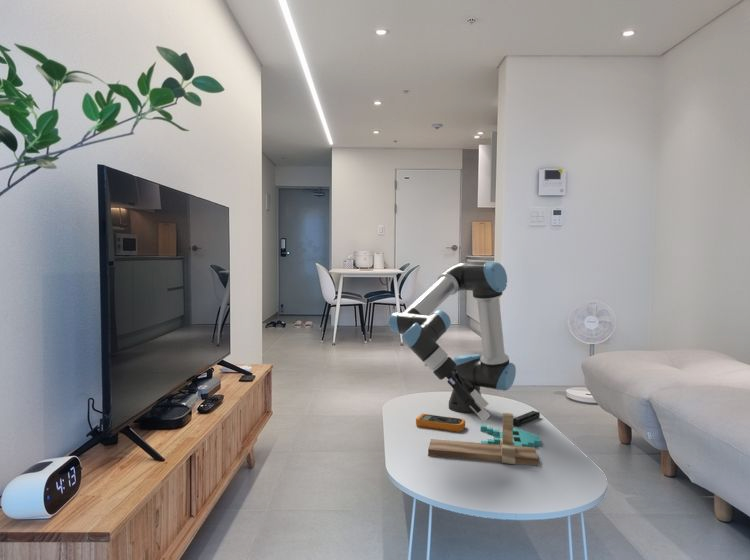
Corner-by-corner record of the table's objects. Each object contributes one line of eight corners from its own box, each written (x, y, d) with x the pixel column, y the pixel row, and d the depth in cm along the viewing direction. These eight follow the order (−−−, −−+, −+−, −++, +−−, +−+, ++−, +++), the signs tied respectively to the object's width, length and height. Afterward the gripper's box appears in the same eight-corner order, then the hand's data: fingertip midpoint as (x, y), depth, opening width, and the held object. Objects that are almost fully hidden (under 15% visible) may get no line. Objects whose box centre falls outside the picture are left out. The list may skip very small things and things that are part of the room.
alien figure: (481, 449, 168) (543, 454, 164) (481, 442, 167) (543, 448, 164) (480, 430, 187) (535, 435, 183) (480, 424, 187) (536, 429, 183)
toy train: (534, 417, 205) (534, 409, 205) (540, 418, 203) (540, 411, 203) (511, 426, 192) (511, 418, 192) (517, 428, 191) (518, 420, 190)
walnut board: (430, 444, 170) (430, 438, 170) (534, 453, 163) (534, 447, 163) (428, 455, 160) (428, 449, 160) (538, 465, 153) (538, 458, 153)
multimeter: (461, 433, 183) (461, 424, 183) (414, 427, 190) (415, 418, 189) (466, 427, 191) (466, 418, 191) (421, 421, 197) (421, 412, 197)
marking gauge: (500, 451, 164) (501, 410, 164) (512, 452, 163) (513, 411, 163) (501, 462, 154) (502, 420, 154) (515, 464, 153) (516, 421, 153)
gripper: (434, 363, 176) (477, 408, 174) (429, 379, 151) (478, 432, 149) (450, 349, 175) (493, 394, 172) (447, 363, 150) (497, 416, 148)
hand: (486, 412), depth 161 cm, fingers open, 13 cm apart
